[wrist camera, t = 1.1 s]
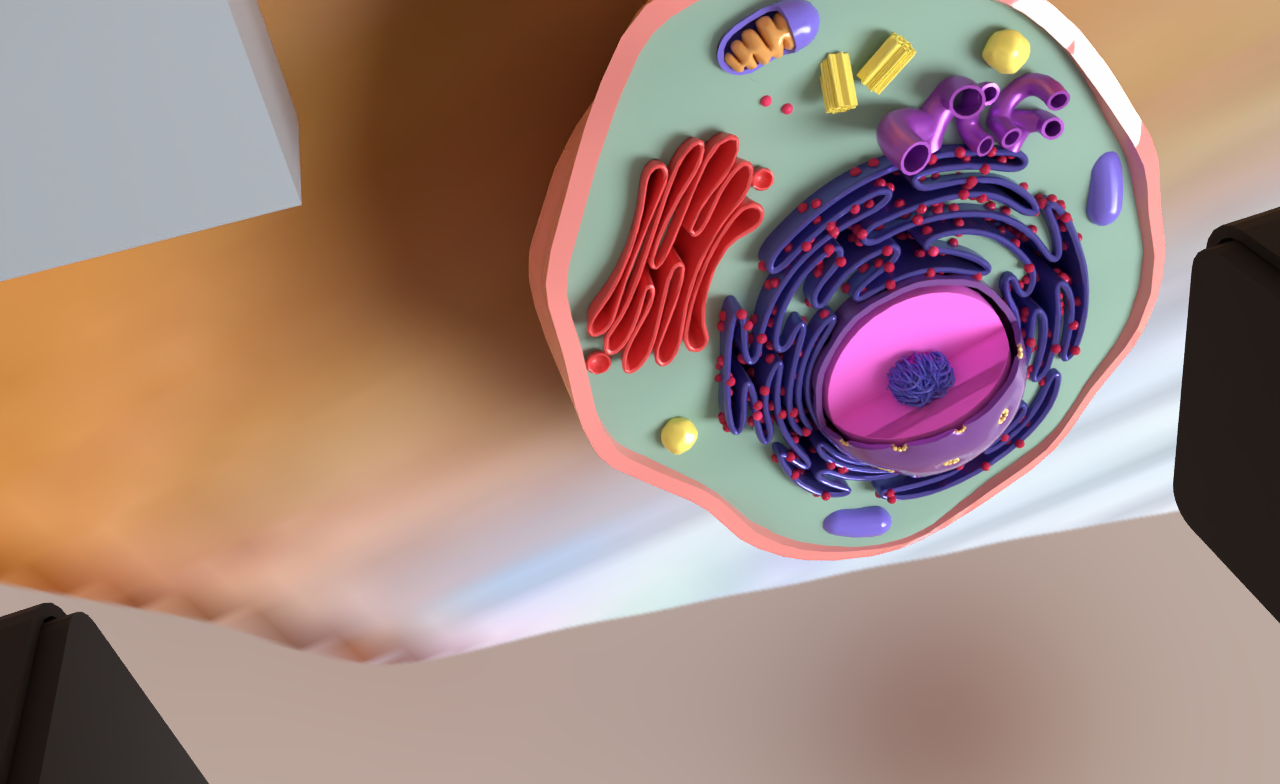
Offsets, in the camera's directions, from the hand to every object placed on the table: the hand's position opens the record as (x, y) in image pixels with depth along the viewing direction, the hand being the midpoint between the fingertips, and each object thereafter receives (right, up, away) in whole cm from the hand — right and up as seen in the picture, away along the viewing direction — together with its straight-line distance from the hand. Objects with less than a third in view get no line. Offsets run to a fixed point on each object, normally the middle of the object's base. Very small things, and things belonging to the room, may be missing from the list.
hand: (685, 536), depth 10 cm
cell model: (+4, +8, +29) cm, 31 cm away
